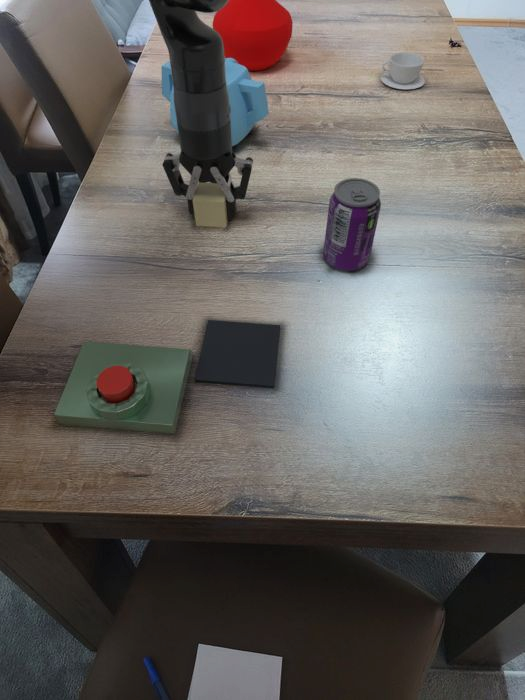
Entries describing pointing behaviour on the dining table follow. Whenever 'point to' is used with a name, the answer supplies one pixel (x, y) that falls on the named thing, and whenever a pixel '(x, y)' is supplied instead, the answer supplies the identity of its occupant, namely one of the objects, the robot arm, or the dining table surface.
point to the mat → (239, 354)
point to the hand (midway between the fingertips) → (213, 215)
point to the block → (210, 206)
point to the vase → (254, 32)
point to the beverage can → (351, 223)
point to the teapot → (230, 98)
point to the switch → (115, 383)
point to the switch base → (147, 398)
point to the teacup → (403, 71)
